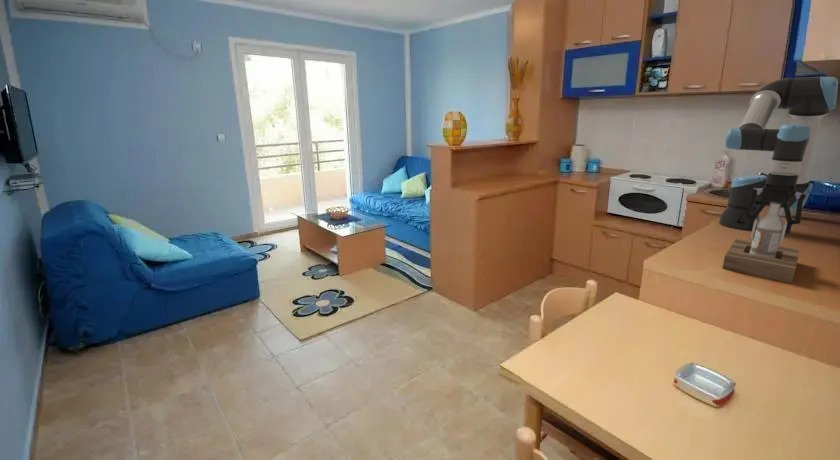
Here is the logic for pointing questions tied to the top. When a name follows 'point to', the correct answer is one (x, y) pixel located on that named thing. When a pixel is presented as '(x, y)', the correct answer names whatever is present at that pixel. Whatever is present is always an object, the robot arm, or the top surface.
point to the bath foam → (768, 232)
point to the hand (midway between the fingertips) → (766, 239)
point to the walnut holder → (761, 261)
